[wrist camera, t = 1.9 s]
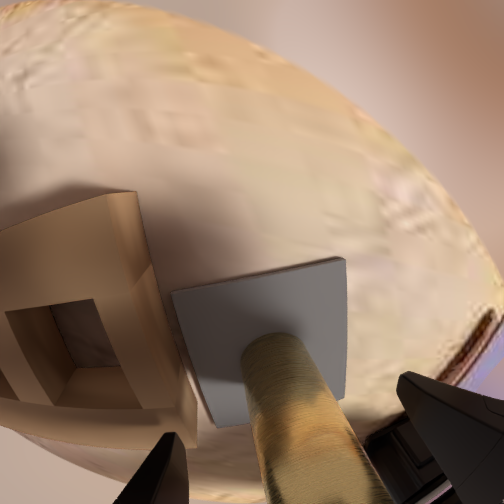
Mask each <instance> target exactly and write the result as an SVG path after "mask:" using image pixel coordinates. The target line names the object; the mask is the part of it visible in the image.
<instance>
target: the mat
mask: <svg viewBox="0 0 504 504" xmlns="http://www.w3.org/2000/svg"><path fill="white" fill-rule="evenodd" d="M171 297H172V301H173V304H174V308H175V311H176V315H177V318H178V321H179V325H180V328H181V331H182V334H183V338H184V341H185V344H186V347H187V350H188V353H189V356H190V359H191V362H192V365H193V368H194V370H195V373H196V376H197V379H198V381H199V384H200V387H201V390H202V392H203V395H204V397H205V400H206V403H207V405H208V408H209V410H210V413H211V415H212V418H213V420H214V422H215V425H216V427H217V428H223V427H230V426H236V425H242V424H248V423H250V417H249V412H248V407H247V401H246V396H245V390H244V384H243V379H242V373H241V367H240V360H241V356H242V353H243V351H244V350H245V348H246V347H247V346H248V345H249V344H250V343H251V342H252V341H254V340H255V339H257V338H259V337H261V336H263V335H266V334H269V333H275V332H283V333H289V334H292V335H294V336H296V337H298V338H299V339H300V340H301V341H302V342H303V343H304V345H305V347H306V348H307V350H308V352H309V354H310V355H311V357H312V359H313V361H314V362H315V364H316V366H317V368H318V369H319V371H320V373H321V375H322V377H323V378H324V380H325V382H326V384H327V385H328V387H329V389H330V391H331V392H332V394H333V396H334V398H335V399H336V401H337V400H340V399H343V398H344V395H345V381H346V361H347V277H346V259H344V258H339V259H334V260H329V261H325V262H320V263H315V264H310V265H306V266H301V267H296V268H291V269H286V270H281V271H276V272H271V273H266V274H261V275H256V276H251V277H246V278H241V279H236V280H230V281H225V282H220V283H214V284H209V285H204V286H198V287H193V288H187V289H181V290H176V291H172V292H171Z"/></svg>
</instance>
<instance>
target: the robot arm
mask: <svg viewBox="0 0 504 504" xmlns="http://www.w3.org/2000/svg"><path fill="white" fill-rule="evenodd" d="M396 392H397V395H398V397H399V399H400V401H401V403H402V405H403V407H404V409H405V411H406V413H407V415H408V417H409V418H407V419H405V420H403V421H401V422H399V423H397V424H395V425H393V426H391V427H389V428H387V429H384V430H382V431H380V432H378V433H375V434H373V435H371V436H370V437H369V438H368V439H367V440H366V444H365V447H364V450H365V452H366V454H367V456H368V457H369V459H370V461H371V463H372V464H373V466H374V468H375V470H376V472H377V473H378V475H379V477H380V479H381V480H382V482H383V484H384V486H385V487H386V489H387V491H388V493H389V494H390V496H391V498H392V500H393V501H394V503H395V504H425V503H426V502H428V501H429V500H431V499H432V498H433V497H435V496H436V495H437V494H439V493H440V492H441V491H443V490H444V489H445V488H447V487H448V486H449V485H450V484H451V485H452V487H451V488H450V489H449V490H447V491H446V492H445V493H444V494H442V495H441V496H440V497H438V498H437V499H436V500H434V501H433V502H431V503H430V504H504V400H499V399H495V398H491V397H488V396H484V395H483V396H482V395H481V394H477V393H474V392H471V391H468V390H465V389H461V388H458V387H455V386H452V385H449V384H446V383H443V382H440V381H437V380H434V379H431V378H428V377H426V376H423V375H420V374H417V373H414V372H411V371H407V372H405V373H403V374H401V375H400V376H399V379H398V384H397V388H396ZM113 504H189V480H188V471H187V462H186V452H185V446H184V444H183V442H182V440H181V439H180V437H179V435H178V434H177V433H176V432H165V433H164V434H163V435H162V437H161V438H160V439H159V441H158V442H157V444H156V445H155V447H154V448H153V449H152V451H151V452H150V454H149V455H148V456H147V458H146V459H145V461H144V462H143V463H142V465H141V466H140V467H139V469H138V470H137V472H136V473H135V474H134V476H133V477H132V478H131V480H130V481H129V482H128V484H127V485H126V486H125V488H124V489H123V491H122V492H121V494H120V495H119V496H118V497H117V499H116V500H115V501H114V503H113Z"/></svg>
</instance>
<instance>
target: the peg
mask: <svg viewBox="0 0 504 504" xmlns="http://www.w3.org/2000/svg"><path fill="white" fill-rule="evenodd" d="M240 367H241V373H242V379H243V384H244V390H245V396H246V401H247V407H248V412H249V417H250V423H251V428H252V433H253V438H254V443H255V448H256V453H257V458H258V463H259V468H260V472H261V477H262V482H263V486H264V491H265V495H266V500H267V504H395V503H394V501H393V500H392V498H391V496H390V494H389V493H388V491H387V489H386V487H385V486H384V484H383V482H382V480H381V479H380V477H379V475H378V473H377V472H376V470H375V468H374V466H373V464H372V463H371V461H370V459H369V457H368V456H367V454H366V452H365V450H364V449H363V447H362V445H361V443H360V442H359V440H358V438H357V436H356V435H355V433H354V431H353V429H352V428H351V426H350V424H349V422H348V421H347V419H346V417H345V415H344V413H343V412H342V410H341V408H340V406H339V405H338V403H337V401H336V399H335V398H334V396H333V394H332V392H331V391H330V389H329V387H328V385H327V384H326V382H325V380H324V378H323V377H322V375H321V373H320V371H319V369H318V368H317V366H316V364H315V362H314V361H313V359H312V357H311V355H310V354H309V352H308V350H307V348H306V347H305V345H304V343H303V342H302V341H301V340H300V339H299V338H298V337H296V336H294V335H292V334H289V333H283V332H275V333H269V334H266V335H263V336H261V337H259V338H257V339H255V340H254V341H252V342H251V343H250V344H249V345H248V346H247V347H246V348H245V350H244V351H243V353H242V356H241V360H240Z"/></svg>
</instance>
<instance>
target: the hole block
mask: <svg viewBox="0 0 504 504" xmlns="http://www.w3.org/2000/svg"><path fill="white" fill-rule="evenodd" d="M92 298H93V299H94V302H95V305H96V308H97V311H98V313H99V316H100V319H101V321H102V324H103V326H104V329H105V331H106V334H107V336H108V339H109V341H110V343H111V346H112V348H113V350H114V353H115V355H116V357H117V359H118V361H119V363H120V366H113V367H93V368H76V366H75V364H74V362H73V360H72V358H71V356H70V354H69V352H68V350H67V348H66V346H65V343H64V341H63V339H62V337H61V335H60V332H59V330H58V328H57V325H56V323H55V321H54V318H53V316H52V313H51V310H50V308H49V305H53V304H60V303H66V302H73V301H79V300H85V299H92ZM0 425H1V426H3V427H6V428H9V429H12V430H16V431H19V432H23V433H26V434H30V435H34V436H38V437H42V438H46V439H51V440H56V441H61V442H66V443H72V444H79V445H86V446H94V447H103V448H115V449H134V450H152V449H153V448H154V447H155V445H156V444H157V442H158V441H159V439H160V438H161V437H162V435H163V434H164V433H165V432H176V433H177V434H178V435H179V437H180V439H181V440H182V442H183V444H184V446H185V449H190V448H197V400H196V397H195V395H194V392H193V390H192V387H191V385H190V382H189V379H188V377H187V374H186V372H185V369H184V366H183V364H182V361H181V358H180V355H179V352H178V349H177V347H176V344H175V341H174V338H173V335H172V332H171V329H170V326H169V322H168V319H167V316H166V313H165V309H164V306H163V303H162V299H161V296H160V292H159V289H158V285H157V282H156V278H155V274H154V270H153V266H152V262H151V258H150V254H149V250H148V246H147V241H146V237H145V233H144V228H143V223H142V218H141V213H140V208H139V203H138V198H137V192H136V191H135V192H123V193H111V194H104V195H101V196H97V197H94V198H91V199H87V200H84V201H81V202H78V203H75V204H71V205H68V206H65V207H62V208H59V209H56V210H54V211H51V212H48V213H45V214H42V215H40V216H37V217H34V218H32V219H29V220H26V221H24V222H21V223H19V224H16V225H14V226H11V227H9V228H6V229H4V230H2V231H0Z"/></svg>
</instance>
